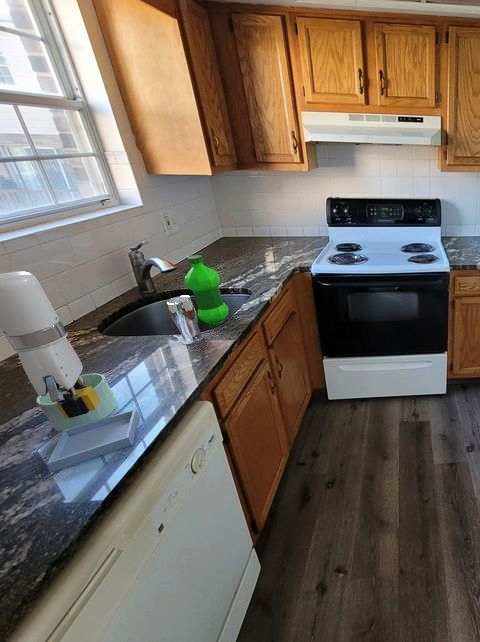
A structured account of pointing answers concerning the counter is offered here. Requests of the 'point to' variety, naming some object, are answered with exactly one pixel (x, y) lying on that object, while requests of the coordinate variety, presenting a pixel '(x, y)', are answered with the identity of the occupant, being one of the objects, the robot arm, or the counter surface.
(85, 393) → the sponge
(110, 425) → the tray
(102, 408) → the bowl
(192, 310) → the beer glass
